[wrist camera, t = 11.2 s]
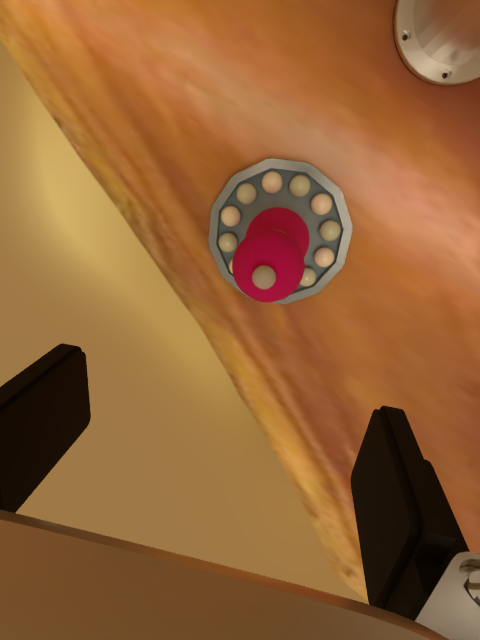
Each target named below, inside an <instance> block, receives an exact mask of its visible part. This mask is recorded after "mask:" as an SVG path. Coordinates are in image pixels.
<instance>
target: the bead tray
mask: <svg viewBox="0 0 480 640" xmlns="http://www.w3.org/2000/svg"><path fill="white" fill-rule="evenodd" d="M275 207H281V208H287V209H290V210H292V211H294V212H295V213H297V214H298V215H299V216H300V217H301V218H302V219H303V220H304V222H305V223H306V225H307V228H308V231H309V237H310V240H309V247H308V250H307V253H306V255H305V257H304V262H305V267H304V274H303V277H302V280H301V282H300V284H299V286H298V287H297V288H296V290H295V291H294V292H293V293H292V294H291V295H289V296H288V297H286V298H284V299H282V300H279V301H275V302H272V303H278V304H284V303H285V304H288V303H291V302H294V301H297V300H300V299H303V298H305V297H308V296H311V295H314V294H317V292H318V293H319V292H320V291H321V290H322V289H323V288H324V286H325V285H326V284H327V283H328V282H329V281H330V280H331V279H332V278H333V277H334V276H335V275H336V274H337V273H338V272H339V270H340V269H341V268H342V267H343V265H344V263H345V259H346V255H347V251H348V247H349V242H350V238H351V234H352V230H353V226H352V223H351V220H350V216H349V213H348V210H347V206H346V203H345V200H344V197H343V193H342V190H340V188H339V187H338V186H337V185H335V184H334V183H333V182H332V181H331V180H330V179H328V178H327V177H326V176H325V175H324V174H323V173H321V172H320V171H319V170H318V169H317V168H316V167H314V166H313V165H312V164H310V165H309V163H306V162H298V161H290V160H282V159H274V158H268V159H266V160H264V161H262V162H260V163H258V164H256V165H254V166H251V167H249V168H247V169H245V170H243V171H241V172H239V173H237V174H234V176H232V177H231V179H230V180H229V182H228V183H227V185H226V186H225V188H224V189H223V191H222V192H221V194H220V195H219V197H218V198H217V200H216V201H215V203H214V204H213V206H212V208H211V216H210V228H209V241H208V244H209V248H210V250H211V253H212V255H213V257H214V259H215V262H216V264H217V266H218V268H219V271H220V273H221V275H222V277H224V279H225V280H226V281H228V282H229V283H230V284H232V285H233V286H234V287H235V288H237V289H238V290H239V291H241V289H240V288H239V287H238V286H237V284H236V282H235V280H234V276H233V271H232V260H233V256H234V253H235V250H236V249H237V247H238V245H239V244H240V242H241V241H242V240H243V239H244V238H245V237H246V232H247V229H248V227H249V225H250V223H251V221H252V220H253V219H254V218H255V217H256V216H257V215H258V214H259V213H261V212H262V211H264V210H267V209H269V208H275ZM241 292H242V291H241ZM242 293H243V294H244V295H246V294H245V293H244V292H242ZM246 296H247V295H246ZM247 297H248V298H250V297H249V296H247ZM251 299H252V298H251Z"/></svg>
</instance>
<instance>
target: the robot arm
mask: <svg viewBox="0 0 480 640" xmlns="http://www.w3.org/2000/svg"><path fill="white" fill-rule="evenodd" d="M394 35H395V42H396V45H397V49H398V52H399V54H400V56H401V58H402V60H403V62H404V64H405V65H406V66H407V67H408V69H409V70H410V71H411V72H412V73H413V74H414V75H416V76H417V77H418V78H420V79H421V80H424V81H426V82H428V83H431V84H435V85H442V86H450V85H459V84H463V83H466V82H470V81H472V80H474V79H477V78H479V77H480V0H397V3H396V8H395V15H394ZM402 36H406V37H407V38H406V41H403V40H402ZM443 73H444V74H446V78H445V79H443V77H442V74H443ZM90 417H91V414H90V402H89V391H88V377H87V365H86V355H85V353H84V352H82V350H81V348H80V347H78V346H73V345H67V344H60V345H58V346H56V347H55V348H54V349H52V350H51V351H49V352H48V353H47V354H45V355H44V356H42V357H41V358H40V359H38V360H37V361H36V362H34V363H33V364H32V365H30V366H29V367H27V368H26V369H24V370H23V371H22V372H21V373H19V374H18V375H16V376H15V377H13V378H12V379H11V380H9V381H8V382H7V383H5V384H4V385H2V386H1V387H0V640H480V554H478V553H472V552H470V551H469V549H468V547H467V544H466V542H465V540H464V537H463V535H462V533H461V531H460V528H459V526H458V524H457V521H456V519H455V517H454V514H453V512H452V510H451V507H450V505H449V503H448V501H447V498H446V496H445V494H444V491H443V489H442V487H441V484H440V482H439V480H438V478H437V475H436V473H435V471H434V468H433V466H432V465H431V463H430V462H429V461H428V460H424V458H423V456H422V453H421V451H420V449H419V446H418V444H417V441H416V439H415V436H414V434H413V432H412V429H411V427H410V424H409V422H408V420H407V417H406V415H405V412H404V411H403V410H402V409H398V408H393V407H388V406H382V407H381V408H380V410H378V409H375V410H374V411H373V413H372V416H371V419H370V422H369V425H368V428H367V431H366V433H365V436H364V439H363V442H362V445H361V448H360V451H359V454H358V456H357V459H356V462H355V465H354V468H353V471H352V474H351V489H352V495H353V502H354V509H355V515H356V522H357V529H358V535H359V542H360V549H361V555H362V562H363V568H364V575H365V582H366V588H367V595H368V601H369V604H370V605H368V604H365V603H362V602H358V601H355V600H351V599H348V598H344V597H341V596H337V595H333V594H330V593H326V592H323V591H318V590H315V589H311V588H308V587H305V586H301V585H297V584H293V583H289V582H286V581H282V580H278V579H274V578H270V577H266V576H262V575H259V574H255V573H251V572H247V571H243V570H239V569H235V568H231V567H228V566H224V565H220V564H216V563H212V562H208V561H204V560H200V559H196V558H193V557H189V556H184V555H180V554H176V553H173V552H169V551H165V550H161V549H157V548H153V547H149V546H145V545H141V544H137V543H133V542H129V541H125V540H121V539H117V538H113V537H109V536H105V535H101V534H97V533H93V532H89V531H85V530H81V529H77V528H73V527H69V526H65V525H61V524H57V523H52V522H49V521H44V520H40V519H36V518H32V517H28V516H24V515H20V514H16V513H15V512H16V511H17V510H18V509H19V508H20V507H21V505H22V504H23V503H24V502H25V501H26V500H27V498H28V497H29V496H30V495H31V494H32V492H33V491H34V490H35V489H36V488H37V486H38V485H39V484H40V483H41V482H42V480H43V479H44V478H45V477H46V475H47V474H48V473H49V472H50V471H51V470H52V468H53V467H54V466H55V465H56V464H57V462H58V461H59V460H60V459H61V458H62V456H63V455H64V454H65V453H66V452H67V450H68V449H69V448H70V447H71V446H72V444H73V443H74V442H75V441H76V440H77V438H78V437H79V436H80V435H81V433H82V432H83V431H84V430H85V428H86V427H87V426H88V424H89V422H90Z"/></svg>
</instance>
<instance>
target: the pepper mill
mask: <svg viewBox="0 0 480 640" xmlns="http://www.w3.org/2000/svg"><path fill="white" fill-rule="evenodd" d="M309 240H310V237H309V231H308V228H307V225H306V223H305V222H304V220H303V219H302V218H301V217H300V216H299V215H298V214H297V213H295V212H294V211H292V210H290V209H287V208H281V207H275V208H269V209H267V210H264V211H262V212H261V213H259V214H258V215H257V216H256V217H255V218H254V219H253V220H252V221H251V223H250V225H249V227H248V229H247V232H246V237H245V238H244V239H243V240H242V241H241V242H240V244H239V245H238V247H237V249H236V250H235V253H234V256H233V260H232V271H233V276H234V280H235V282H236V284H237V286H238V287H239V288H240V289H241V291H242V292H244V293H245V294H246V295H247V296H249V297H250V298H252V299H254V300H257V301H260V302H275V301H279V300H282V299H284V298H286V297H288V296H289V295H291V294H292V293H293V292H294V291H295V290H296V288H297V287H298V286H299V284H300V282H301V280H302V277H303V274H304V267H305V262H304V257H305V255H306V253H307V250H308V247H309Z"/></svg>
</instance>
